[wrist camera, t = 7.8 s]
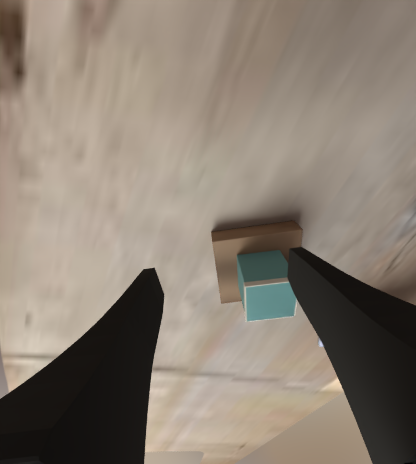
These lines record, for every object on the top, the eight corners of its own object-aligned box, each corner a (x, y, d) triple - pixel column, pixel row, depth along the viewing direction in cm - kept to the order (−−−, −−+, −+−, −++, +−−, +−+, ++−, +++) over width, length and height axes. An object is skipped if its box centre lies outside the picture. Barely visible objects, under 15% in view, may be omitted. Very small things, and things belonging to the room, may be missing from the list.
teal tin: (278, 282, 23) (294, 316, 19) (237, 287, 23) (245, 322, 19) (280, 249, 21) (300, 280, 17) (235, 254, 21) (244, 286, 17)
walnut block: (287, 280, 26) (295, 294, 24) (219, 289, 27) (221, 303, 25) (292, 219, 22) (302, 229, 20) (210, 230, 22) (212, 242, 20)
